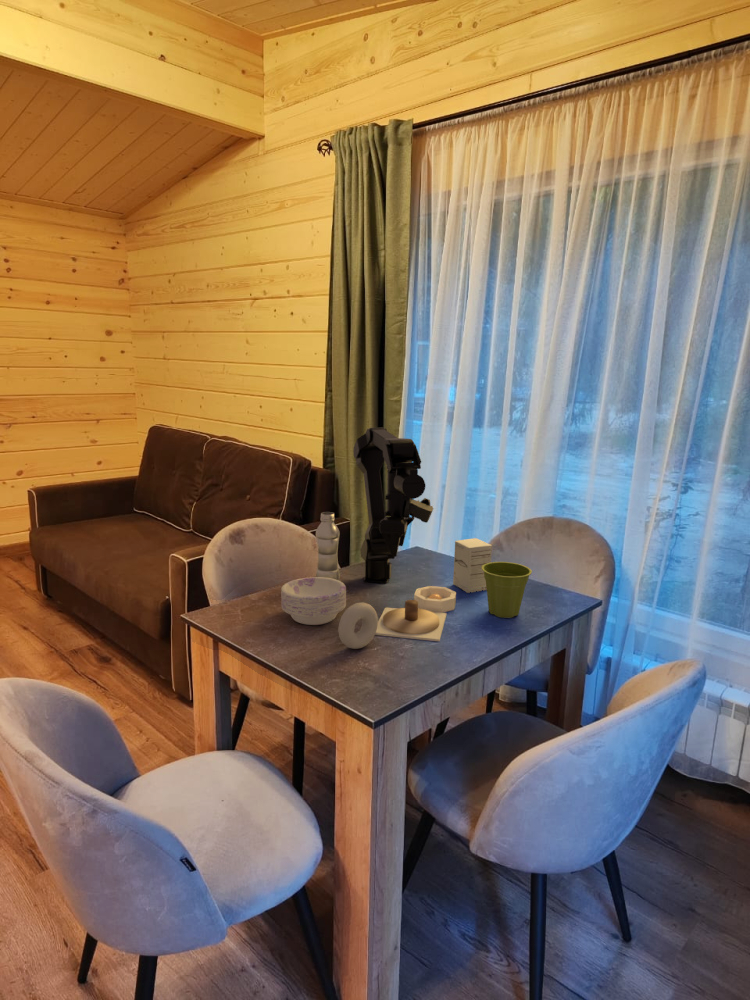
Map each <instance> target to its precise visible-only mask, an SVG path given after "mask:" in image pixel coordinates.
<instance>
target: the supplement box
mask: <svg viewBox="0 0 750 1000" xmlns="http://www.w3.org/2000/svg"><path fill="white" fill-rule="evenodd" d="M492 549H493V546H492V544H490V543H487V542H485V541H484V540H481V539H479V538H477V537H475V538H468V539H467V538H466V539H459V540H455V541H454V556H453V558H454V561H453V574H452V575H453V578H452V579H453V580H452V582H453V583H452V585H454V586H455V587H457V588H459V589H461V590H463V591H465V592H466V593H467V594H469V593H470V592H471V593H476V591H477V592H482V590H483V591H487V588H486V580H485V577H484V571H483V570H482V566H483V565H484V564H487V563H491V562H492Z"/></svg>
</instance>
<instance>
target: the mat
mask: <svg viewBox="0 0 750 1000" xmlns="http://www.w3.org/2000/svg"><path fill="white" fill-rule="evenodd" d="M394 609H397V608H396V607H395V608H394V607H384V609H383V611H382V614H381V615H380V617H379V618H378V627H377V631H376V633H375V635H374V636H385V637H392V638H393V637H394V638H402V639H403V638H404V639H413V640H421V641H432V642H440V640H441V637H442V633H443V629H444V627H445V626H444V625H445V623H446V622H445V621H446V619H447V612H443V613H439V612H433V613H435V614H436V615H437V616H438V617H439V626H438V628H437V629H435V630H434V631H431V632H428V633H424V634H403V633H398V632H395V631H392V630H390V629H388V628H387V627H385V626H384V624H383V616H384V615H385V614H386V613H387V612H389V611H391V610H394Z"/></svg>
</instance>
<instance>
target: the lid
mask: <svg viewBox="0 0 750 1000" xmlns="http://www.w3.org/2000/svg"><path fill="white" fill-rule="evenodd" d="M383 624H384V626H385V627H387V628H388V629H390V630H392V631H395V632H398V633H403V634H424V633H428V632H431V631H434V630H435V629H437V628H438V626H439V617H438V616H437V615H436V614H435V613H433V612H431V611H428V610H424V609H419V608H418V601H416V600H414V599H406V600H405V601H404V607H399V608H396V609H394V610H391V611H389V612H387V613H386V614H385V615H384V616H383Z"/></svg>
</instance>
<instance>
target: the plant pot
mask: <svg viewBox="0 0 750 1000" xmlns="http://www.w3.org/2000/svg"><path fill="white" fill-rule="evenodd" d="M482 570H483V571H484V577H485V580H486V588H487V590H486V597H487V606H488V612H489V613H490V614H491V615H494V616H496V617H499V618H506V619H511V618H515V616H518V615H519V614H520V610H521V606H522V601H523V597H524V595H525V589H526V585H527V583H528V581H529V577H530V576H531V575H532V572H533V570H532V569H531V568H529V566H526V565H523V564H520V563H515V562H509V561H493V562H492V561H491V563H487V564H484V565H483V566H482Z"/></svg>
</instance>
